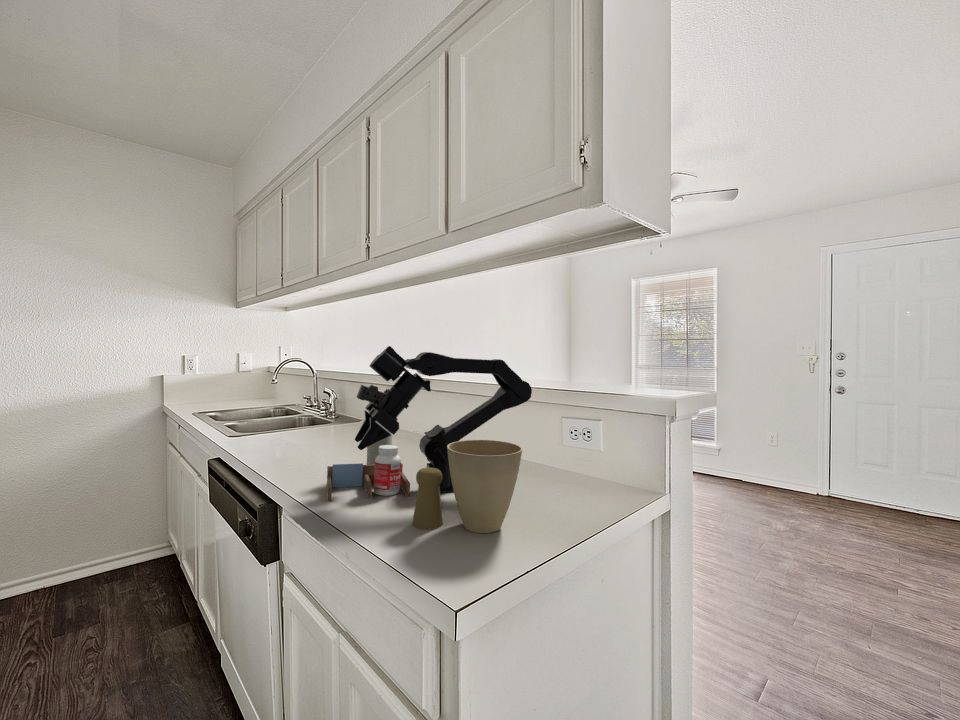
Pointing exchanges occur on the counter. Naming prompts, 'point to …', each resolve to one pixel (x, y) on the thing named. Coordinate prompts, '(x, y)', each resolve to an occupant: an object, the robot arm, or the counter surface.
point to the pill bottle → (387, 471)
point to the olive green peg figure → (428, 499)
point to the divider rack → (357, 478)
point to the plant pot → (483, 481)
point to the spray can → (376, 449)
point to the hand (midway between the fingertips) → (357, 444)
